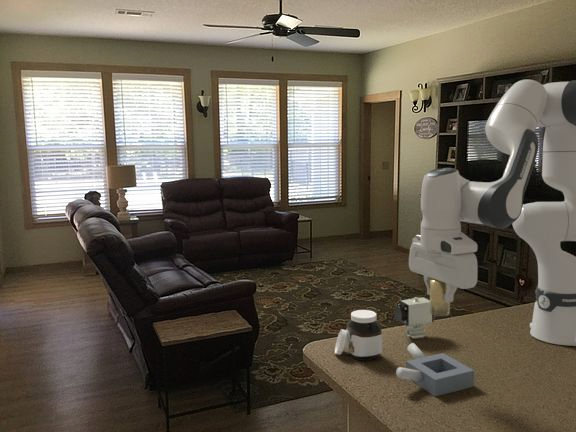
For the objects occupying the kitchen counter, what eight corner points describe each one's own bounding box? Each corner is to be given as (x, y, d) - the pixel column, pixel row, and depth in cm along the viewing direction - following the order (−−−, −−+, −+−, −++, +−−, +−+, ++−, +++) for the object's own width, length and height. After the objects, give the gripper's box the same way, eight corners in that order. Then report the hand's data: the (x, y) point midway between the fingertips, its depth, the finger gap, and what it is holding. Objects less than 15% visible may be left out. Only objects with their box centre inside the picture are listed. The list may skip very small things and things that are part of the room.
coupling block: (427, 358, 133) (428, 338, 132) (473, 386, 117) (474, 363, 116) (371, 371, 127) (371, 350, 126) (412, 402, 111) (412, 378, 110)
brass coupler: (441, 309, 121) (441, 276, 120) (453, 314, 117) (454, 280, 116) (426, 311, 119) (426, 278, 118) (438, 317, 115) (438, 283, 114)
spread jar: (386, 359, 134) (386, 317, 132) (349, 367, 129) (348, 324, 128) (363, 343, 145) (362, 304, 143) (327, 351, 140) (327, 310, 139)
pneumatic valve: (438, 336, 148) (438, 297, 146) (402, 342, 144) (402, 302, 143) (427, 330, 153) (427, 292, 151) (392, 335, 150) (392, 296, 148)
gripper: (402, 234, 124) (402, 289, 126) (459, 248, 105) (458, 312, 107) (423, 232, 126) (423, 285, 128) (483, 245, 107) (482, 308, 109)
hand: (439, 298), depth 117 cm, fingers closed on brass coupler, 4 cm apart
